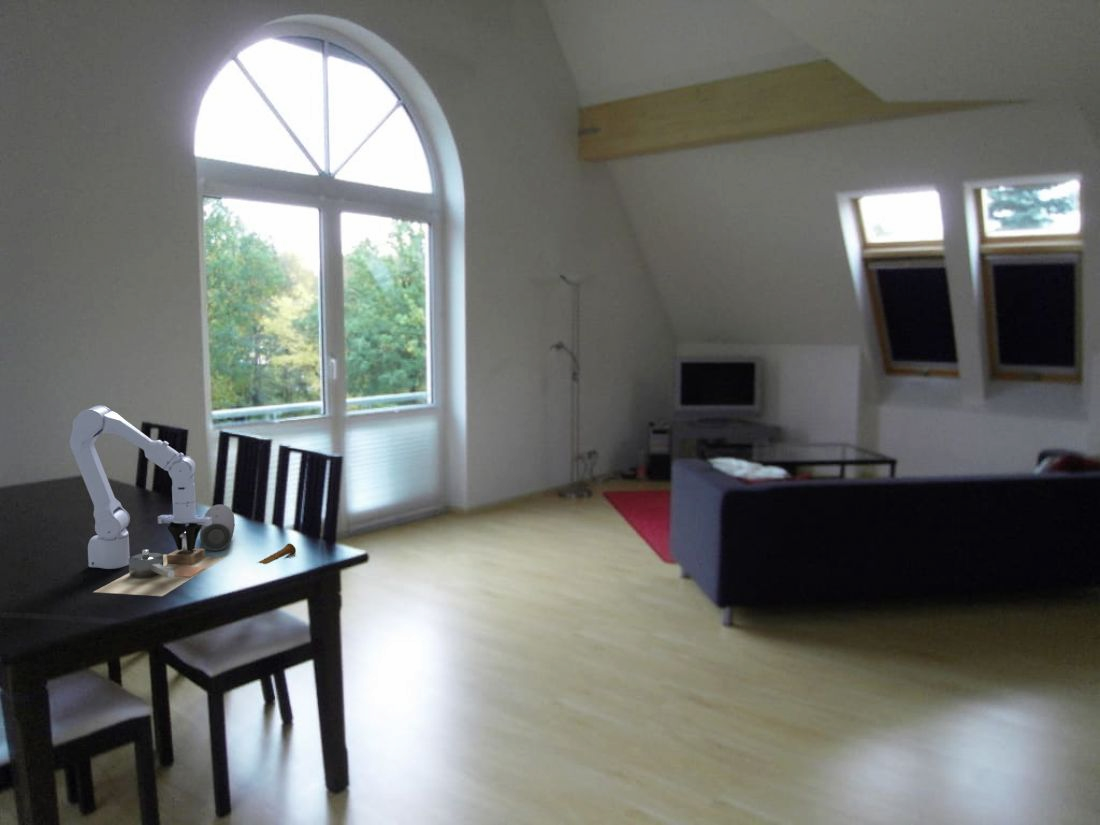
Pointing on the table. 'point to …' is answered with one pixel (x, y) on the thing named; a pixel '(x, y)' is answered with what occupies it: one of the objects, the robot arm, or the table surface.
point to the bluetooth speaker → (218, 528)
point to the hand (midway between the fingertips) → (186, 549)
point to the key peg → (184, 544)
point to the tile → (187, 571)
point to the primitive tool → (279, 554)
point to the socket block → (186, 557)
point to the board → (154, 580)
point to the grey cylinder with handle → (148, 565)
